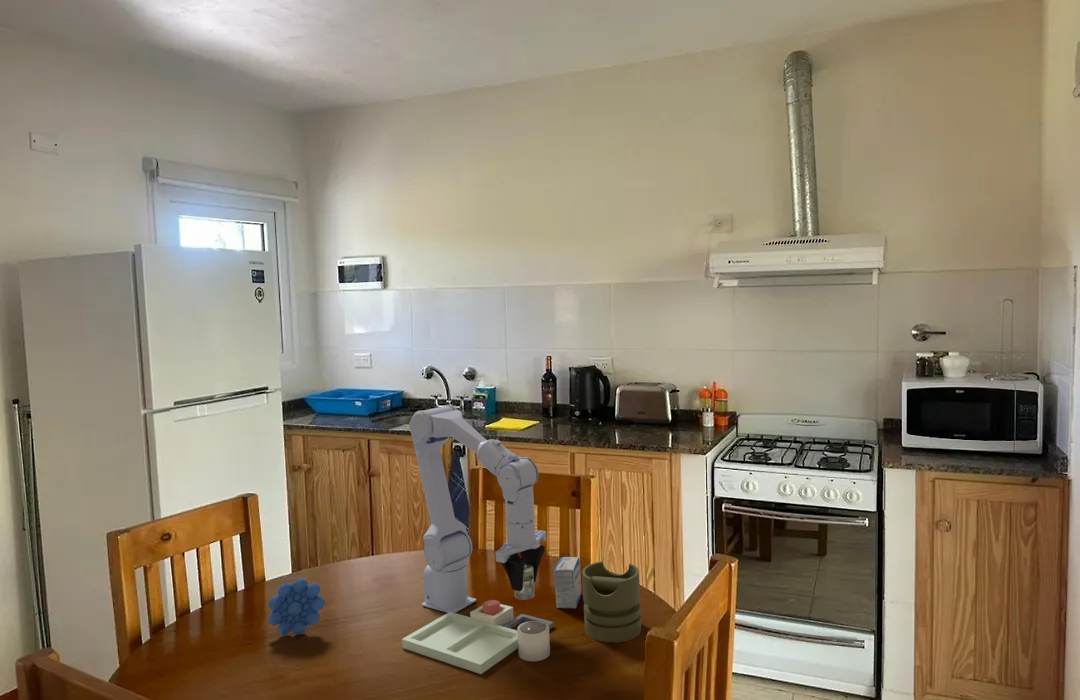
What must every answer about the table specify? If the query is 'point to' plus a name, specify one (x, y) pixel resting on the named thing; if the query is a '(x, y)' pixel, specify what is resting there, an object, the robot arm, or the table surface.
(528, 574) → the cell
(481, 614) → the frame
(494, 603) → the button
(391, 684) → the table surface
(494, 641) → the trough tray
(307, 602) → the blue flower
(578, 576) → the medicine box
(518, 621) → the cradle
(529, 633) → the cup
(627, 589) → the piston
